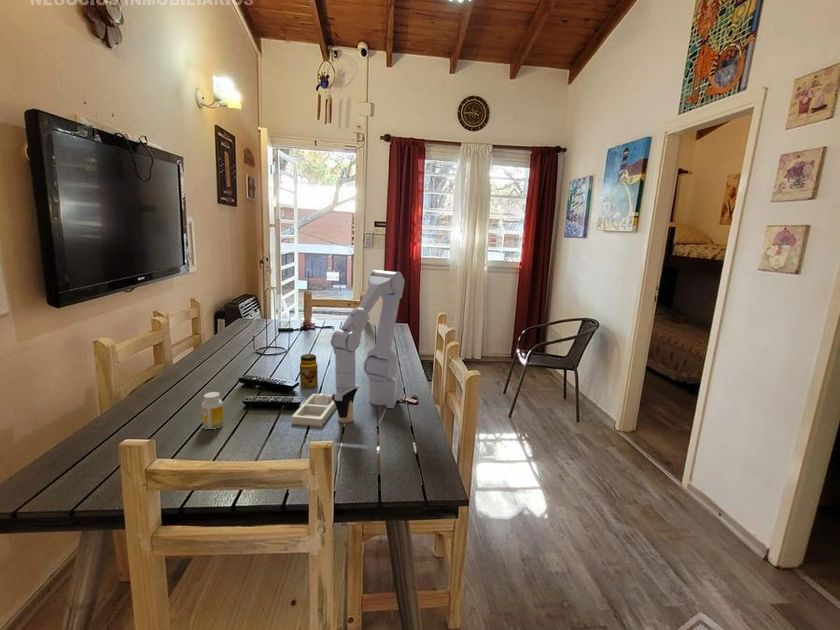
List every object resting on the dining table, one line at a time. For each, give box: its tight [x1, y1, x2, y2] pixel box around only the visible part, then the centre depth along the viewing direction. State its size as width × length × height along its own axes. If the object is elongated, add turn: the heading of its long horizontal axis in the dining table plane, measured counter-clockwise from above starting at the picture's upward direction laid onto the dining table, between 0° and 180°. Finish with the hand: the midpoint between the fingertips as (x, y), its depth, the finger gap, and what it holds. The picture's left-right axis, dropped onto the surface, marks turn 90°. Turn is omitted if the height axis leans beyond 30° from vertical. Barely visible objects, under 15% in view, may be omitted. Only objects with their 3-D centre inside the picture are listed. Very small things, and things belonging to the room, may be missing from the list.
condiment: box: [299, 353, 319, 390], centre depth 147 cm, size 7×8×12 cm
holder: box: [291, 393, 337, 427], centre depth 127 cm, size 9×17×3 cm, turn 174°
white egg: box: [314, 392, 328, 406], centre depth 131 cm, size 4×4×4 cm
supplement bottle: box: [201, 391, 225, 430], centre depth 117 cm, size 5×5×10 cm
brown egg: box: [337, 401, 354, 424], centre depth 122 cm, size 4×4×7 cm
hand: (345, 413), depth 123 cm, fingers closed on brown egg, 4 cm apart
